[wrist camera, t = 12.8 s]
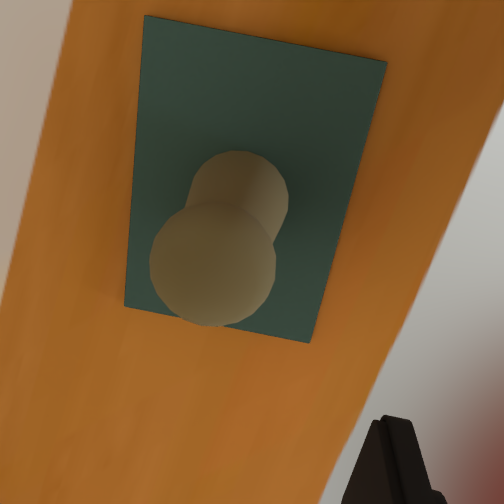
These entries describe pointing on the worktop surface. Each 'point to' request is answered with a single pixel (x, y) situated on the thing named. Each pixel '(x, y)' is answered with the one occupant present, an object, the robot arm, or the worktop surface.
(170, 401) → the worktop surface
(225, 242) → the cork
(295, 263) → the side mat
